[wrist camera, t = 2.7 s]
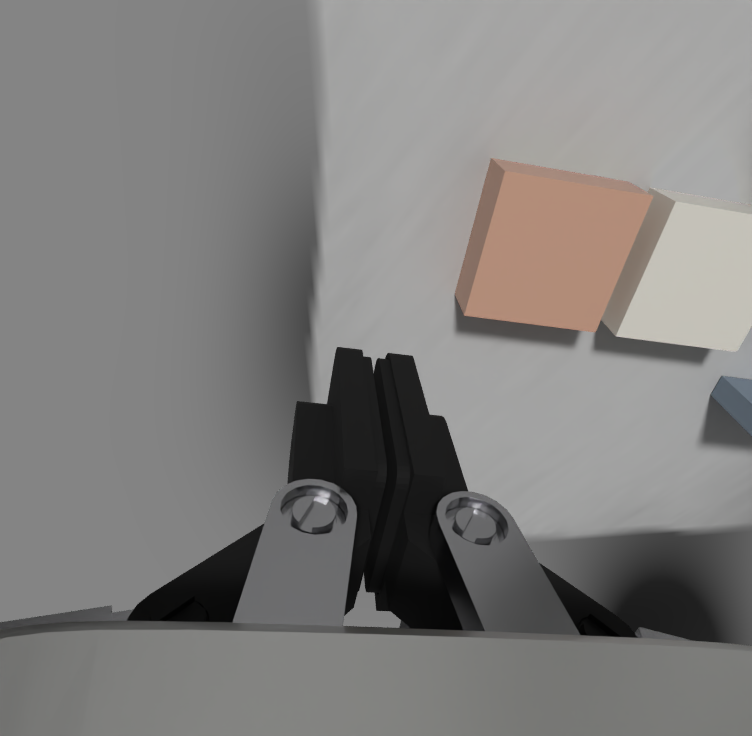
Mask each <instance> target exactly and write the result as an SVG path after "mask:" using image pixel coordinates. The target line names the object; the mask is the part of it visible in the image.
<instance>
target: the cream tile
mask: <svg viewBox="0 0 752 736" xmlns="http://www.w3.org/2000/svg"><path fill="white" fill-rule="evenodd" d="M648 193H649V194H651V195H653V199H652V201H651V203H650V206H649V208H648V210H647V213H646V215H645V217H644V220H643V222H642V224H641V227H640V229H639V232H638V234H637V236H636V239H635V241H634V243H633V246H632V248H631V250H630V253H629V255H628V257H627V260H626V262H625V264H624V267H623V269H622V271H621V274H620V276H619V278H618V281H617V283H616V286H615V288H614V290H613V293H612V295H611V297H610V300H609V302H608V304H607V307H606V309H605V311H604V314H603V316H602V318H601V320H602V321H603V323H604V324H605V325H606V326H607V327H608V328H609V329H610V330H611V332H612V333H613V334H614V335H615V336H616V337H624V338H632V339H640V340H647V341H655V342H663V343H671V344H678V345H686V346H694V347H702V348H709V349H717V350H725V351H733V352H737V351H738V349H739V347H740V345H741V344H742V342H743V340H744V339H745V337H746V335H747V333H748V332H749V330H750V328H751V327H752V205H750V204H744V203H738V202H732V201H727V200H721V199H715V198H709V197H703V196H697V195H692V194H686V193H680V192H674V191H668V190H663V189H657V188H651V187H650V188H649V190H648Z"/></svg>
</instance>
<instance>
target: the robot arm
mask: <svg viewBox="0 0 752 736" xmlns="http://www.w3.org/2000/svg"><path fill="white" fill-rule="evenodd" d="M363 573H364V578H365V589H366V592H374V593H375V601H376V610H377V611H391V612H392V613H393V614H395V615H396V616H397V617H398V618H399V619H401V624H400V628H382V627H354V626H343V620H344V616H345V615H346V614H347V613H348V612H349V611H350V610H351V609H353V608H354V604H355V600H356V596H357V592H358V591H359V588H360V585H361V581H362V577H363ZM0 736H752V646H748V645H738V644H729V643H716V642H700V641H691V640H688V639H684V638H680V637H676V636H672V635H668V634H664V633H660V632H656V631H652V630H649V629H645V628H641V627H639V629H638V630H637V631H636V633H634V632H633V631H632V630H631V628H630V627H629V626H628V625H627V624H626V623H624V622H623V621H622V620H621V619H620V618H619V617H617V616H616V615H615V614H613V613H612V612H610V611H609V610H607V609H606V608H605V607H603V606H602V605H600V604H598V603H597V602H596V601H594V600H593V599H591V598H590V597H588V596H587V595H585V594H584V593H582V592H581V591H580V590H578V589H577V588H575V587H574V586H572V585H571V584H569V583H568V582H566V581H565V580H564V579H562V578H561V577H559V576H558V575H556V574H555V573H553V572H552V571H550V570H549V569H547V568H546V567H545V566H543V565H542V564H540V563H539V562H538V560H537V559H536V557H535V555H534V553H533V552H532V550H531V548H530V547H529V545H528V543H527V541H526V539H525V538H524V536H523V534H522V532H521V531H520V529H519V527H518V526H517V524H516V522H515V520H514V519H513V517H512V516H511V515H510V513H509V512H508V511H507V509H505V508H504V507H503V506H502V505H501V504H499V503H498V502H497V501H495V500H493V499H491V498H489V497H487V496H485V495H482V494H479V493H475V492H468V489H467V486H466V483H465V480H464V477H463V474H462V470H461V467H460V464H459V461H458V458H457V455H456V451H455V448H454V445H453V442H452V439H451V436H450V433H449V429H448V426H447V423H446V421H445V418H444V417H442V416H437V415H429V412H428V408H427V405H426V401H425V398H424V394H423V390H422V387H421V383H420V380H419V376H418V372H417V369H416V365H415V362H414V358H413V356H409V355H401V354H392V353H388V354H387V355H386V358H385V359H380V358H378V359H377V361H376V365H375V369H374V374H373V367H372V360H371V357H363V352H362V350H359V349H350V348H342V347H337V349H336V353H335V359H334V365H333V371H332V377H331V383H330V389H329V395H328V401H327V404H319V403H309V402H299V401H297V404H296V410H295V417H294V426H293V433H292V441H291V450H290V460H289V472H288V484H287V485H285V486H284V487H282V488H281V489H280V490H279V491H277V493H276V494H275V496H274V498H273V499H272V502H271V505H270V508H269V511H268V514H267V517H266V520H265V523H264V524H263V525H261V526H259V527H258V528H256V529H255V530H253V531H251V532H250V533H248V534H246V535H245V536H243V537H242V538H240V539H238V540H237V541H235V542H234V543H232V544H230V545H229V546H227V547H226V548H224V549H222V550H221V551H219V552H217V553H216V554H214V555H213V556H211V557H209V558H208V559H206V560H205V561H203V562H201V563H200V564H198V565H197V566H195V567H193V568H192V569H190V570H188V571H187V572H185V573H184V574H182V575H180V576H179V577H177V578H176V579H174V580H172V581H171V582H169V583H167V584H166V585H164V586H163V587H161V588H159V589H158V590H156V591H155V592H153V593H151V594H150V595H149V596H147V597H146V598H145V599H144V600H143V601H141V602H140V603H139V604H138V605H137V606H136V607H135V609H132V610H126V611H119V612H114V613H112V606H104V607H97V608H91V609H84V610H78V611H71V612H65V613H58V614H52V615H45V616H39V617H32V618H25V619H19V620H13V621H6V622H0Z"/></svg>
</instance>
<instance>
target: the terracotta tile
mask: <svg viewBox="0 0 752 736" xmlns="http://www.w3.org/2000/svg"><path fill="white" fill-rule="evenodd" d="M652 199H653V195H651V194H649V193H647V192H646V191H644V190H642V189H640V188H639V187H637V186H635V185H633V184H632V183H630V182H627V181H621V180H615V179H610V178H604V177H598V176H592V175H586V174H581V173H575V172H569V171H563V170H557V169H552V168H546V167H540V166H534V165H528V164H523V163H517V162H511V161H505V160H499V159H494V158H491V160H490V164H489V168H488V171H487V175H486V179H485V183H484V186H483V190H482V194H481V198H480V201H479V205H478V209H477V213H476V216H475V220H474V224H473V228H472V231H471V235H470V239H469V243H468V246H467V250H466V254H465V258H464V261H463V265H462V269H461V273H460V276H459V280H458V284H457V287H456V291H455V296H456V298H457V300H458V303H459V305H460V307H461V310H462V312H463V314H464V316H471V317H479V318H487V319H495V320H502V321H510V322H518V323H526V324H534V325H542V326H549V327H557V328H565V329H573V330H581V331H588V332H596V330H597V328H598V325H599V323H600V321H601V318H602V316H603V314H604V311H605V309H606V307H607V304H608V302H609V300H610V297H611V295H612V293H613V290H614V288H615V286H616V283H617V281H618V278H619V276H620V274H621V271H622V269H623V267H624V264H625V262H626V260H627V257H628V255H629V253H630V250H631V248H632V246H633V243H634V241H635V239H636V236H637V234H638V232H639V229H640V227H641V224H642V222H643V220H644V217H645V215H646V213H647V210H648V208H649V206H650V203H651V201H652Z"/></svg>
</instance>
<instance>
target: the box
mask: <svg viewBox="0 0 752 736" xmlns="http://www.w3.org/2000/svg"><path fill="white" fill-rule="evenodd" d="M711 396H712V397H713V398H714V399H715V400H716V401H717V402H718V403H719V404H720V405H721V406H722V407H723V408H724V409H725V410H726V411H727V412H728V413H729V414H730V415H731V416H732V417H733V418H734V419H735V420H736V421H737V422H738V423H739V424H740V425H741V426H742V427H743V428H744V429H745V430H746V431H747V432H748V433H749V434H750V435H751V436H752V380H749V379H741V378H733V377H726V376H722V377H721V379H720V380H719V382H718V384H717V385H716V387H715V389H714V390H713V392H712V394H711Z"/></svg>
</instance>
